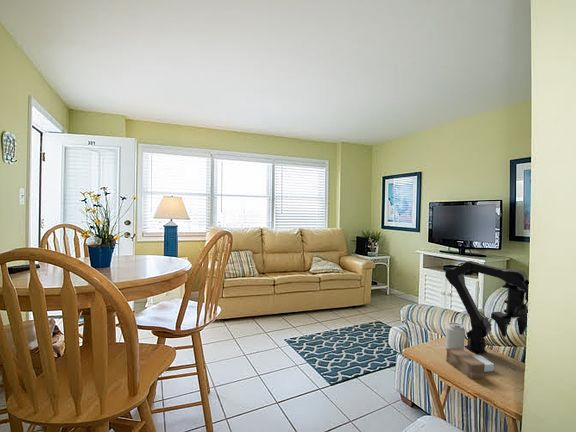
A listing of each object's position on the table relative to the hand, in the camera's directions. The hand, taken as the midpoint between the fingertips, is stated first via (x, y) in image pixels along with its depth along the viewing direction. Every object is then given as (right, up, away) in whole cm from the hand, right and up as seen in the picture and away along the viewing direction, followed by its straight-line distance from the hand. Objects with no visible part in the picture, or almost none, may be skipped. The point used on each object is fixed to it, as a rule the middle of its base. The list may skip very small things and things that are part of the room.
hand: (512, 335), depth 130 cm
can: (-19, -11, +11) cm, 25 cm away
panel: (-19, -12, -4) cm, 22 cm away
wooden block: (-24, -12, -5) cm, 27 cm away
